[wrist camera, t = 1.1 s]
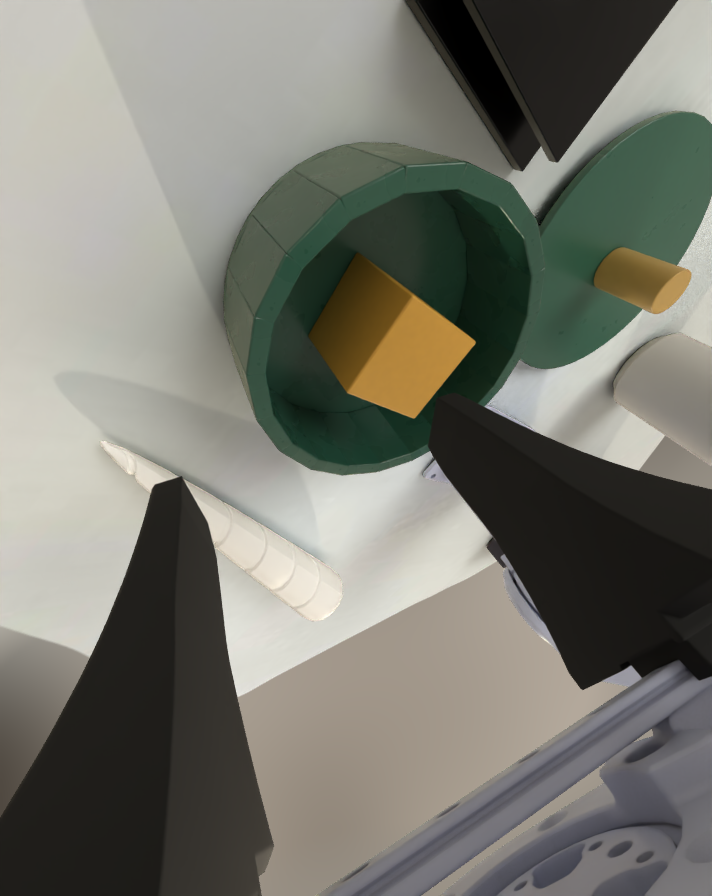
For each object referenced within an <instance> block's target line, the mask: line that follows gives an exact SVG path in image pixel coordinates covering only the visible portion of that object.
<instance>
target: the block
mask: <svg viewBox="0 0 712 896" xmlns="http://www.w3.org/2000/svg"><path fill="white" fill-rule="evenodd" d="M308 337H309V339H310V340H311V341H312V343H313V344H314V346H315V347H316V349H317V350H318V352H319V353H320V355H321V356H322V357H323V359H324V360H325V362H326V363H327V365H328V366H329V368H330V369H331V370H332V372H333V373H334V375H335V376H336V378H337V379H338V381H339V382H340V384H341V385H342V386H343V388H344V389H345V391H346V392H347V393H349V394H351V395H354V396H356V397H359V398H362V399H364V400H367V401H369V402H372V403H374V404H377V405H380V406H382V407H385V408H387V409H390V410H393V411H395V412H398V413H400V414H403V415H406V416H408V417H411V418H413V419H414V418H416V416H417V415H418V414H419V413H420V411H421V410H422V409H423V408H424V406H425V405H426V404H427V403H428V401H429V400H430V399H431V398H432V397H433V395H434V394H435V393H436V392H437V390H438V389H439V388H440V387H441V385H442V384H443V383H444V382H445V380H446V379H447V378H448V377H449V376H450V374H451V373H452V372H453V371H454V369H455V368H456V367H457V366H458V364H459V363H460V362H461V361H462V359H463V358H464V357H465V356H466V355H467V353H468V352H469V351H470V350H471V348H472V347H473V346H474V345H475V343H476V342H475V340H474V339H472V338H471V337H470V336H468V335H467V334H466V333H465V332H463V331H462V330H461V329H459V328H458V327H457V326H455V325H454V324H453V323H452V322H450V321H449V320H448V319H446V318H445V317H444V316H442V315H441V314H440V313H439V312H437V311H436V310H435V309H433V308H432V307H431V306H429V305H428V304H427V303H426V302H424V301H423V300H422V299H420V298H419V297H418V296H416V295H415V294H414V293H412V292H411V291H410V290H408V289H407V288H406V287H404V286H403V285H402V284H400V283H399V282H398V281H396V280H395V279H394V278H392V277H391V276H390V275H388V274H387V273H386V272H384V271H383V270H382V269H380V268H379V267H378V266H376V265H375V264H374V263H372V262H371V261H370V260H368V259H367V258H365V257H364V256H363V255H361V254H360V253H358V252H357V253H356V254H355V256H354V258H353V260H352V261H351V263H350V265H349V266H348V268H347V270H346V272H345V273H344V275H343V277H342V278H341V280H340V282H339V284H338V285H337V287H336V289H335V290H334V292H333V294H332V296H331V297H330V299H329V301H328V302H327V304H326V306H325V308H324V309H323V311H322V313H321V314H320V316H319V318H318V320H317V321H316V323H315V325H314V326H313V328H312V330H311V332H310V333H309V335H308Z"/></svg>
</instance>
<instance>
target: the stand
mask: <svg viewBox="0 0 712 896" xmlns="http://www.w3.org/2000/svg"><path fill="white" fill-rule="evenodd" d="M677 1H678V0H406V2H407V3H408V5H409V7H410V8H411V10H412V11H413V13H414V14H415V16H416V17H417V19H418V21H419V22H420V24H421V25H422V27H423V28H424V30H425V31H426V33H427V35H428V36H429V38H430V39H431V41H432V42H433V44H434V45H435V47H436V49H437V50H438V52H439V53H440V55H441V56H442V58H443V59H444V61H445V63H446V64H447V66H448V67H449V69H450V70H451V72H452V73H453V75H454V77H455V78H456V80H457V81H458V83H459V84H460V86H461V87H462V89H463V91H464V92H465V94H466V95H467V97H468V98H469V100H470V101H471V103H472V105H473V106H474V108H475V109H476V111H477V112H478V114H479V115H480V117H481V119H482V120H483V122H484V123H485V125H486V126H487V128H488V129H489V131H490V132H491V134H492V136H493V137H494V139H495V140H496V142H497V143H498V145H499V146H500V148H501V150H502V151H503V153H504V154H505V156H506V157H507V159H508V160H509V162H510V164H511V165H512V167H513V168H514V169H515V170H519V171H523V170H524V169H525V167H526V166H527V165H528V163H529V162H530V160H531V159H532V158H533V156H534V155H535V153H536V152H537V151H538V149H539V148H540V146H541V147H542V148H543V150H544V152H545V154H546V156H547V158H548V159H549V161H552V162H559V160H560V159H561V158H562V156H563V155H564V153H565V152H566V151H567V149H568V148H569V147H570V145H571V144H572V143H573V141H574V140H575V139H576V137H577V136H578V135H579V133H580V132H581V131H582V129H583V128H584V127H585V125H586V124H587V122H588V121H589V120H590V118H591V117H592V116H593V114H594V113H595V112H596V110H597V109H598V108H599V106H600V105H601V104H602V102H603V101H604V100H605V98H606V97H607V96H608V94H609V93H610V91H611V90H612V89H613V87H614V86H615V85H616V83H617V82H618V81H619V79H620V78H621V77H622V75H623V74H624V73H625V71H626V70H627V69H628V67H629V66H630V64H631V63H632V62H633V60H634V59H635V58H636V56H637V55H638V54H639V52H640V51H641V50H642V48H643V47H644V46H645V44H646V43H647V42H648V40H649V39H650V38H651V36H652V35H653V33H654V32H655V31H656V29H657V28H658V27H659V25H660V24H661V23H662V21H663V20H664V19H665V17H666V16H667V15H668V13H669V12H670V11H671V9H672V8H673V7H674V5H675V4H676V2H677Z"/></svg>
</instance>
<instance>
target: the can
mask: <svg viewBox="0 0 712 896" xmlns="http://www.w3.org/2000/svg"><path fill="white" fill-rule="evenodd" d="M613 388H614V400H615V401H616V403H618V404H619V405H621V406H622V407H624V408H625V409H627V410H628V411H630V412H631V413H633V414H634V415H636V416H637V417H639V418H640V419H642V420H643V421H645V422H646V423H648V424H649V425H651V426H652V427H654V428H655V429H657V430H658V431H660V432H661V433H663V434H664V435H665V436H667V437H669V438H670V439H672V440H673V441H674V442H676V443H678V444H679V445H680V446H682V447H683V448H685V449H686V450H688V451H689V452H691V453H693V454H694V455H695V456H697V457H698V458H700V459H701V460H703V461H704V462H706V463H707V464H709V465H710V466H712V347H710V346H708V345H705V344H703V343H701V342H699V341H697V340H695V339H693V338H691V337H688V336H686V335H684V334H682V333H674V334H670V335H667V336H663V337H657V338H655V339H653V340H651V341H649V342H648V343H646V344H645V345H644V346H642V347H641V348H640V349H638V350H637V351H636V352H635V353H634V354H633V355H632V356H631V357H630V358H629V359H628V360H627V361H626V363H625V364H624V365H623V366H622V368H621V369H620V371H619V372H618V374H617V375H616V378H615V380H614V383H613Z"/></svg>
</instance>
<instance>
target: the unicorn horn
mask: <svg viewBox="0 0 712 896" xmlns="http://www.w3.org/2000/svg"><path fill="white" fill-rule="evenodd" d="M100 445H101V447H102V448H103V449H104V450H105V451H106V452H107V453H108V455H109V456H110V457H111V458H112V459H113V460H114V461H115V462H116V463H117V464H118V465H119V466H120V467H121V468H122V469H123V470H124V471H125V472H127V473H128V474H135V476H136V481H137V482H138V483H139V484H140V485H141V486H142V487H143V488H144V489H146V490H147V491H148V492H149V493H150V494H151V490H152V488H153V487H154V485H155V484H158V483H161V482H164V481H168V480H171V479H174V478H177V477H179V476H176V475H174V474H173V473H172V472H170V471H168V470H166V469H165V468H163V467H161V466H159V465H157V464H155V463H153V462H151V461H149V460H147V459H145V458H143V457H142V456H140V455H137V454H135V453H133V452H131V451H129V450H127V449H125V448H123V447H120V446H116V445H114V444H112V443H110V442H107V441H100ZM183 480H184V481H185V483H186V485H187V487H188V488H189V490H190V492H191V494H192V495H193V497H194V499H195V501H196V502H197V504H198V506H199V508H200V509H201V511H202V513H203V515H204V516H205V518H206V520H207V522H208V525H209V529H210V533H211V537H212V541H213V543H214V542H215V548H216V549H217V550H219V551H220V552H221V553H222V554H224V555H225V556H226V557H227V558H229V559H230V560H231V561H232V562H234V563H235V564H236V565H237V566H239V567H240V568H242V569H244V570H245V572H246V573H248V574H249V575H250V576H251V577H253V578H254V579H255V580H256V581H258V582H259V583H260V584H261V585H263V586H264V587H265V588H267V589H269V591H270V592H272V593H273V594H274V595H275V596H277V597H278V598H279V599H280V600H282V601H283V602H284V603H286V604H287V605H289V606H290V607H291V608H292V609H293V610H294V611H296V612H297V613H298V614H299V615H301V616H302V617H304V618H306V619H308V620H311V621H319V620H323V619H324V618H326V617H328V616H329V615H331V614H332V613H333V612H334V610H335V609H336V608H337V607H338V606H339V604H340V601H341V599H342V597H343V584H342V581H341V579H340V576H339V575H338V574H337V573H336V572H335V571H334V570H333V569H332V568H331V567H330V566H328V565H326V564H325V563H323V562H321V561H320V560H318V559H317V558H315V557H313V556H312V555H310V554H309V553H306V552H305V551H304V550H302V549H301V548H299V547H297V546H296V545H294V544H293V543H291V542H289V541H288V540H286V539H284V538H282V537H281V536H280V535H278V534H276V533H275V532H273V531H272V530H270V529H268V528H267V527H265V526H263V525H262V524H260V523H259V522H256V521H254V520H253V519H252V518H250V517H248V516H247V515H245V514H243V513H242V512H240V511H238V510H237V509H235V508H234V507H232V506H230V505H229V504H227V503H225V502H223V501H220V500H219V499H218V498H216V497H215V496H213V495H211V494H209V493H208V492H206V491H204V490H202V489H201V488H199V487H197V486H195V485H194V484H192V483H190V482H188V481H186V480H185V479H183Z"/></svg>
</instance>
